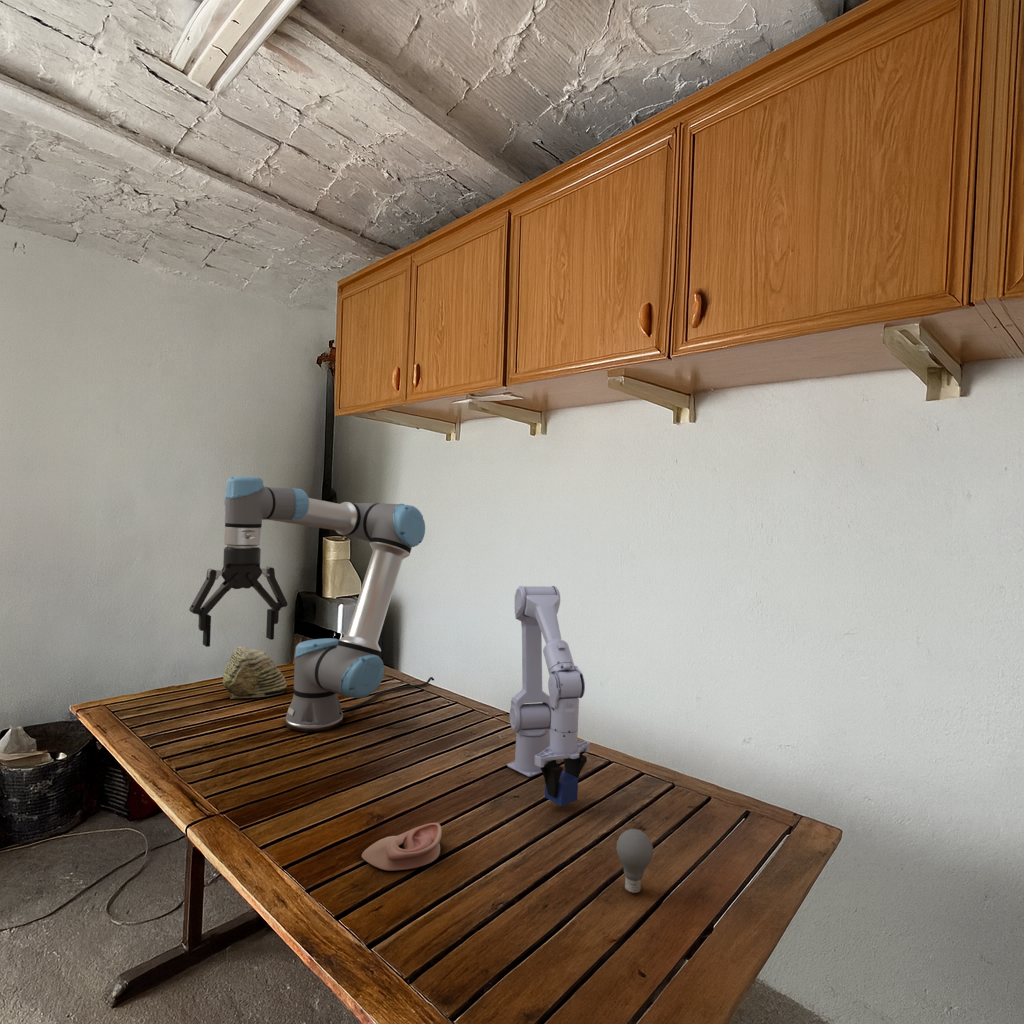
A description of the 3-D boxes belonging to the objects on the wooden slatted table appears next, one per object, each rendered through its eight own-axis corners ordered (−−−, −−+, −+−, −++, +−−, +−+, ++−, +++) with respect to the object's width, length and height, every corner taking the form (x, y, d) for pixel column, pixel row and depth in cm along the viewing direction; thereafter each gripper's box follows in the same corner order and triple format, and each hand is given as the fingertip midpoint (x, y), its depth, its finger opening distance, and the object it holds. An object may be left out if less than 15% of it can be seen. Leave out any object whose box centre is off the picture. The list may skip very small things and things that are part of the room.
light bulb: (610, 879, 108) (613, 822, 108) (644, 879, 109) (647, 822, 109) (619, 902, 102) (622, 840, 102) (655, 901, 103) (658, 840, 103)
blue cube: (561, 806, 130) (562, 784, 130) (544, 797, 133) (545, 775, 133) (577, 800, 133) (578, 778, 133) (560, 791, 137) (561, 769, 136)
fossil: (218, 695, 195) (220, 647, 195) (278, 685, 208) (279, 640, 207) (228, 703, 189) (230, 653, 188) (289, 692, 201) (290, 645, 201)
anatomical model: (354, 842, 109) (381, 811, 120) (353, 865, 109) (380, 831, 121) (427, 854, 107) (448, 821, 118) (426, 877, 107) (447, 842, 118)
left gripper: (185, 548, 129) (181, 652, 130) (304, 546, 145) (300, 638, 146) (176, 545, 135) (172, 644, 135) (291, 544, 151) (288, 632, 152)
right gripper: (552, 741, 125) (549, 809, 125) (601, 726, 134) (598, 790, 135) (528, 730, 130) (525, 795, 131) (577, 717, 140) (574, 777, 140)
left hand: (239, 642), depth 141 cm, fingers open, 13 cm apart
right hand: (561, 792), depth 133 cm, fingers closed on blue cube, 5 cm apart
